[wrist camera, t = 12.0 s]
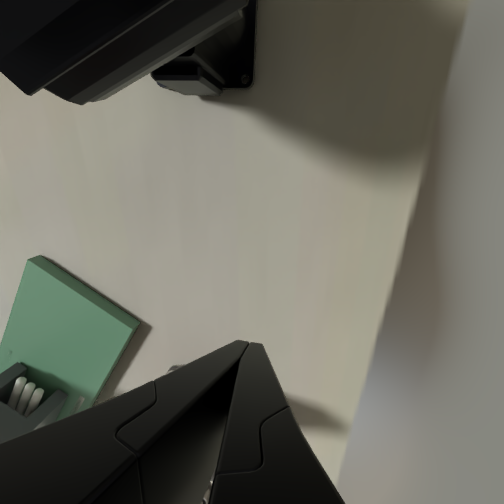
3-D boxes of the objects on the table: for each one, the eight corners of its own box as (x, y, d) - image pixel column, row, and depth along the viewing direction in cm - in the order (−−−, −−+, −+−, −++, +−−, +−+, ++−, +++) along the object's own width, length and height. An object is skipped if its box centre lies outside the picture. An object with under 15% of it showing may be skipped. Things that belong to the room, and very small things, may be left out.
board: (39, 255, 26) (27, 259, 25) (140, 322, 26) (132, 329, 25) (-3, 379, 33) (-14, 387, 32) (77, 431, 33) (69, 441, 32)
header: (20, 355, 29) (-14, 378, 26) (72, 390, 29) (45, 417, 26) (3, 401, 32) (-29, 426, 29) (51, 432, 32) (24, 460, 29)
